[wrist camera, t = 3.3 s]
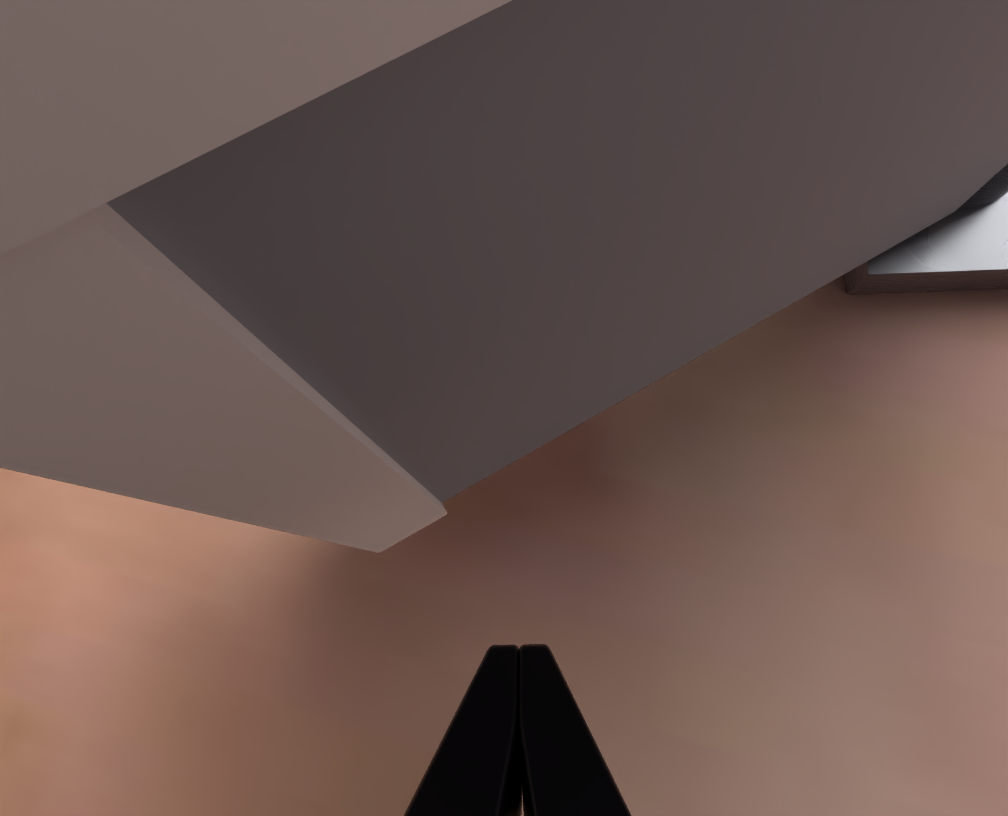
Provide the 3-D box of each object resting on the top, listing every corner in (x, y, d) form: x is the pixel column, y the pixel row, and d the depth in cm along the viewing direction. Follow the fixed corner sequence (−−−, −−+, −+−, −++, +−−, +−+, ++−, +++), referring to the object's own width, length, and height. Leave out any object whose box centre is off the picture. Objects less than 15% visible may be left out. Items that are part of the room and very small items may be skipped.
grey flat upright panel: (894, 141, 17) (2173, -1465, 4) (965, 223, 17) (2844, -1386, 3) (329, 453, 16) (-882, -333, 2) (381, 556, 15) (-911, 295, 2)
